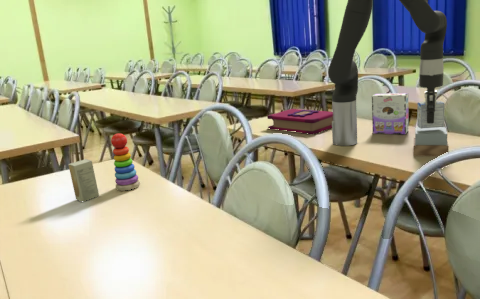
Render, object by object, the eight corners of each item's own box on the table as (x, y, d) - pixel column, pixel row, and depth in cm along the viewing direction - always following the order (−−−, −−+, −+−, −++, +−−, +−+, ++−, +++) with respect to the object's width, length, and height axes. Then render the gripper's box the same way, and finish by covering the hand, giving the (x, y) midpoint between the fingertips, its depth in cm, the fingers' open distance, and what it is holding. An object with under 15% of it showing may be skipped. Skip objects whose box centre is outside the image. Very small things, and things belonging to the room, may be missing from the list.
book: (294, 121, 231) (293, 106, 229) (340, 125, 211) (340, 110, 209) (267, 129, 217) (265, 114, 215) (313, 135, 197) (312, 118, 195)
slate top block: (415, 145, 155) (415, 133, 154) (415, 137, 164) (415, 127, 163) (447, 145, 151) (447, 133, 150) (445, 137, 160) (445, 127, 159)
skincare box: (93, 193, 147) (86, 158, 144) (99, 196, 144) (93, 160, 141) (74, 200, 142) (67, 163, 139) (80, 203, 139) (73, 165, 136)
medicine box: (440, 124, 158) (440, 100, 156) (444, 127, 154) (445, 102, 151) (416, 126, 159) (417, 102, 157) (420, 128, 155) (420, 104, 152)
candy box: (408, 131, 188) (409, 92, 183) (405, 135, 183) (405, 95, 179) (375, 130, 195) (375, 92, 191) (371, 133, 190) (371, 95, 186)
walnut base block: (413, 156, 156) (413, 145, 155) (413, 148, 165) (413, 137, 164) (448, 157, 152) (448, 145, 151) (446, 148, 161) (446, 137, 160)
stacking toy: (129, 182, 155) (120, 129, 150) (145, 185, 151) (136, 131, 146) (111, 189, 149) (101, 135, 144) (127, 193, 145) (117, 137, 140)
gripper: (419, 70, 159) (418, 117, 164) (419, 75, 146) (418, 126, 151) (442, 69, 156) (441, 116, 161) (444, 74, 144) (442, 126, 148)
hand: (430, 121), depth 156 cm, fingers closed on medicine box, 5 cm apart
